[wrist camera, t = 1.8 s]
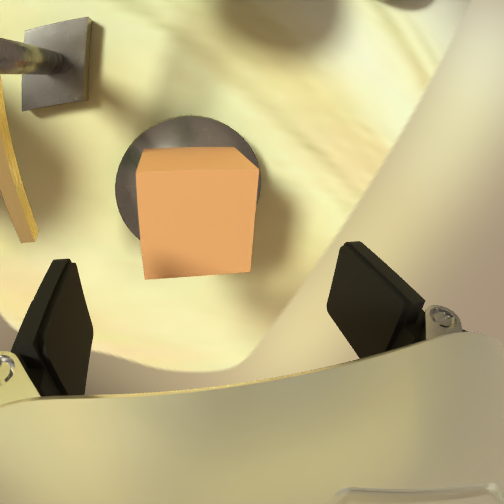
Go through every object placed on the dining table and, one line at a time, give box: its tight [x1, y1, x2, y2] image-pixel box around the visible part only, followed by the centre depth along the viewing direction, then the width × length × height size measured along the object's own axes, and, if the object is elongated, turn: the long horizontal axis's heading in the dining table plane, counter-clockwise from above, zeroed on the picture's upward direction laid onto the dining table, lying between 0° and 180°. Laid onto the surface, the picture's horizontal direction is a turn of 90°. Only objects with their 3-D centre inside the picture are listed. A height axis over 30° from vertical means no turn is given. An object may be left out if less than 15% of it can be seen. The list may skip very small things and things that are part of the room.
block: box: [136, 147, 259, 279], centre depth 15 cm, size 5×5×5 cm
